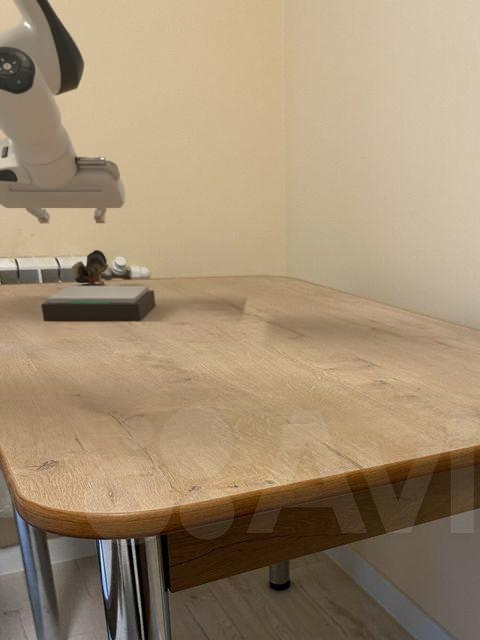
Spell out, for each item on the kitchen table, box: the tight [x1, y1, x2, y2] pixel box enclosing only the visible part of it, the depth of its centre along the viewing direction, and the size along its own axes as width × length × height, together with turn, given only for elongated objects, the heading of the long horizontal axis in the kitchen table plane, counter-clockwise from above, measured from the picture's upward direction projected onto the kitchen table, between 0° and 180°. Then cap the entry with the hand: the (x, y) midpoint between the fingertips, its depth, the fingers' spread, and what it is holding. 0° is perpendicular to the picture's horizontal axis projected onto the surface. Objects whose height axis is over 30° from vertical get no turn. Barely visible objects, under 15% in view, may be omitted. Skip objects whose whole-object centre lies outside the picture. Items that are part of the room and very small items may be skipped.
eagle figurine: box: [71, 249, 109, 286], centre depth 136 cm, size 8×7×9 cm
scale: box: [41, 285, 156, 322], centre depth 111 cm, size 14×14×3 cm
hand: (73, 220), depth 123 cm, fingers open, 8 cm apart
